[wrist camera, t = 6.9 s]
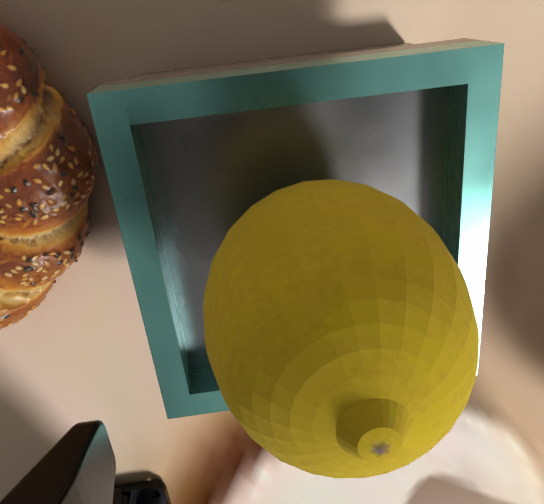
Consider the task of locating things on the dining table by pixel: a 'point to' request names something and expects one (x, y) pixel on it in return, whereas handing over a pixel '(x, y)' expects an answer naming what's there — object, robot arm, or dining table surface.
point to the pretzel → (38, 181)
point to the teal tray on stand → (289, 167)
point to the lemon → (340, 329)
